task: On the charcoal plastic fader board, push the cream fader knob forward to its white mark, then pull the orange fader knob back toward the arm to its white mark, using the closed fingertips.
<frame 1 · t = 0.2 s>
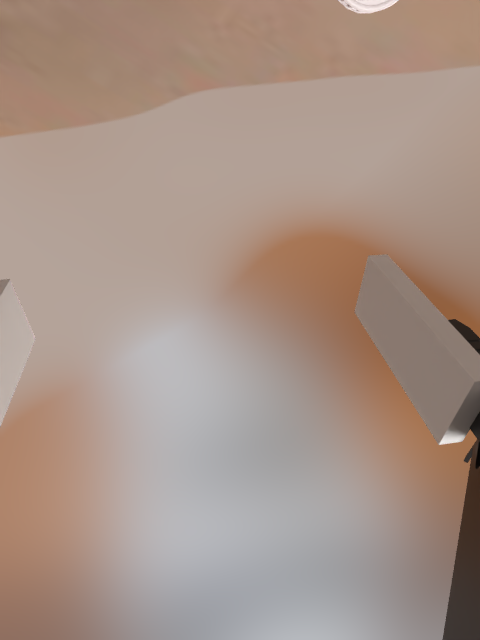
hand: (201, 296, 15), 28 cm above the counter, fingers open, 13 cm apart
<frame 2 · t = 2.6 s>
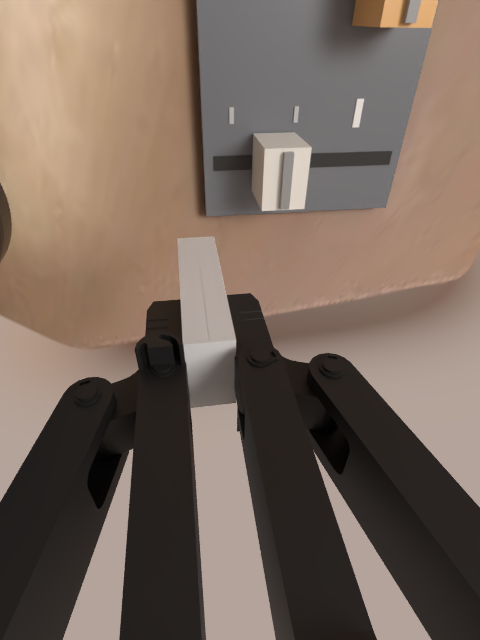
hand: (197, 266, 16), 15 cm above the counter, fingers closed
cream fader: (279, 171, 26), point 4 cm above the counter, slide at 3.0 cm
fader board: (309, 71, 26), on the counter
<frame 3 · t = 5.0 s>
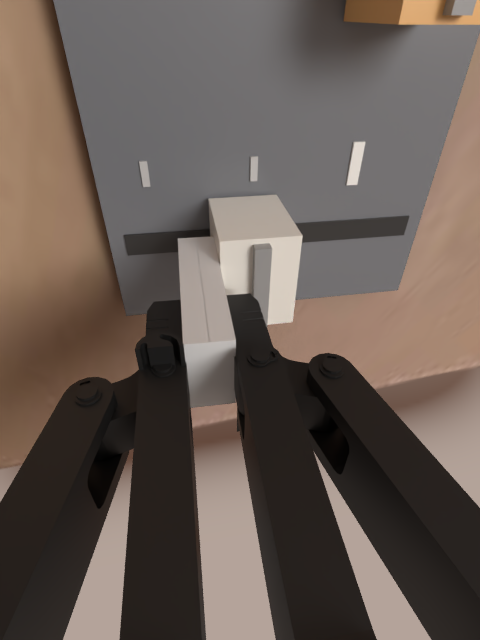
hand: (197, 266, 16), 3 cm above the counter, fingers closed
cream fader: (251, 262, 16), point 4 cm above the counter, slide at 4.0 cm, touching gripper
fader board: (273, 98, 16), on the counter
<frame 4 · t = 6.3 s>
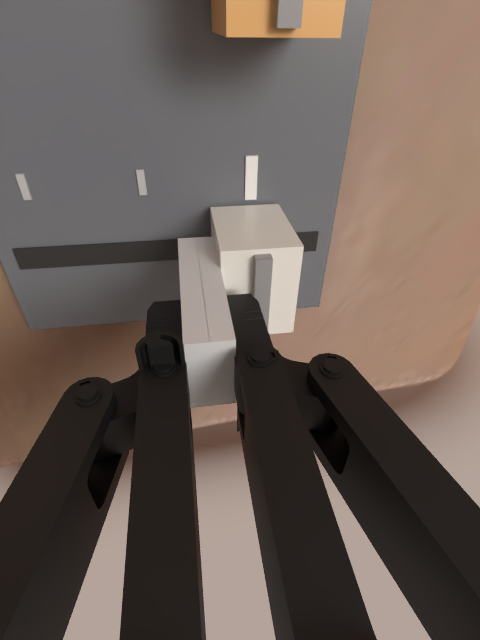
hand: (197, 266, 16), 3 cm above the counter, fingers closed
cream fader: (252, 271, 16), point 4 cm above the counter, slide at 8.7 cm, touching gripper
fader board: (160, 109, 15), on the counter
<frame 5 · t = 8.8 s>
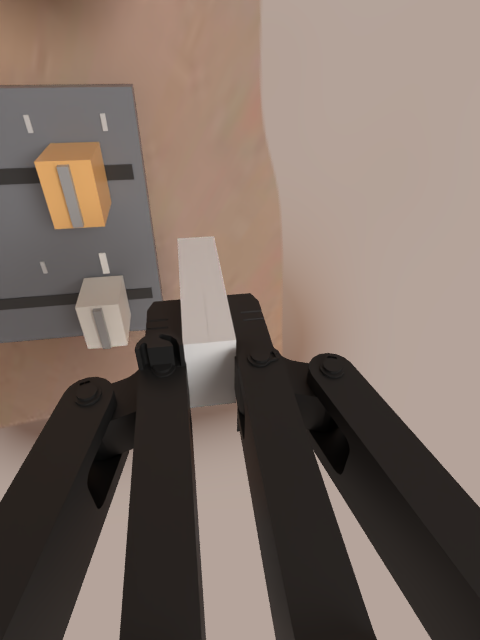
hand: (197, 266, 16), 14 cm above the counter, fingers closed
cream fader: (105, 313, 30), point 4 cm above the counter, slide at 8.7 cm
orange fader: (77, 185, 24), point 4 cm above the counter, slide at 9.0 cm
fader board: (52, 230, 29), on the counter
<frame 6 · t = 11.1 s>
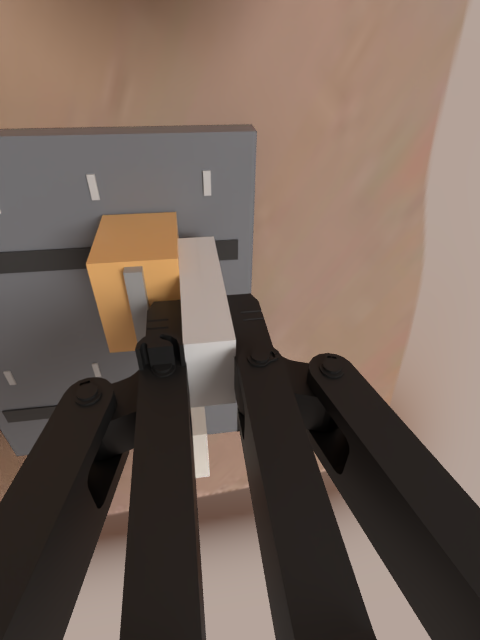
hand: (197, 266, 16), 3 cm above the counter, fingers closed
cream fader: (179, 431, 22), point 4 cm above the counter, slide at 8.7 cm
orange fader: (143, 282, 15), point 4 cm above the counter, slide at 8.1 cm, touching gripper
fader board: (109, 320, 21), on the counter
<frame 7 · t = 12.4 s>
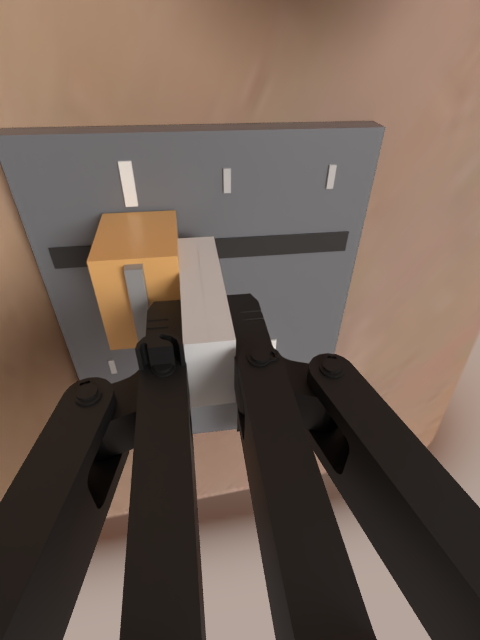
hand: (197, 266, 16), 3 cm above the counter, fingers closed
orange fader: (143, 280, 16), point 4 cm above the counter, slide at 2.8 cm, touching gripper
fader board: (207, 310, 21), on the counter
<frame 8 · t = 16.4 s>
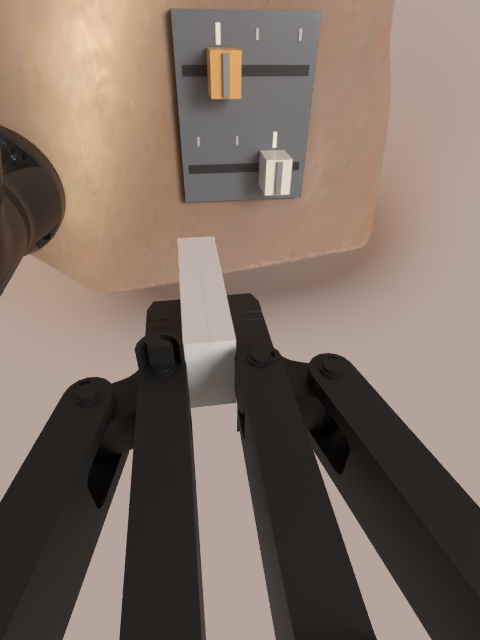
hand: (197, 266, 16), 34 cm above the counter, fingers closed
cream fader: (274, 172, 45), point 4 cm above the counter, slide at 8.7 cm
orange fader: (223, 73, 38), point 4 cm above the counter, slide at 2.8 cm
fader board: (244, 115, 44), on the counter
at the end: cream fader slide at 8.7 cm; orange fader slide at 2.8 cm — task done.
